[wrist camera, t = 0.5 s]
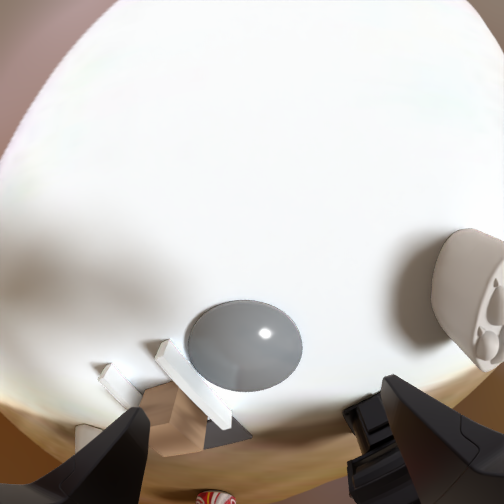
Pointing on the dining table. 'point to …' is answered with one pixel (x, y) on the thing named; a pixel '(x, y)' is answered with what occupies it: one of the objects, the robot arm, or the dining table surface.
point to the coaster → (245, 346)
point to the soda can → (215, 497)
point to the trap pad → (224, 434)
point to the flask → (84, 435)
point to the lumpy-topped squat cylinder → (471, 295)
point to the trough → (180, 375)
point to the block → (173, 420)
